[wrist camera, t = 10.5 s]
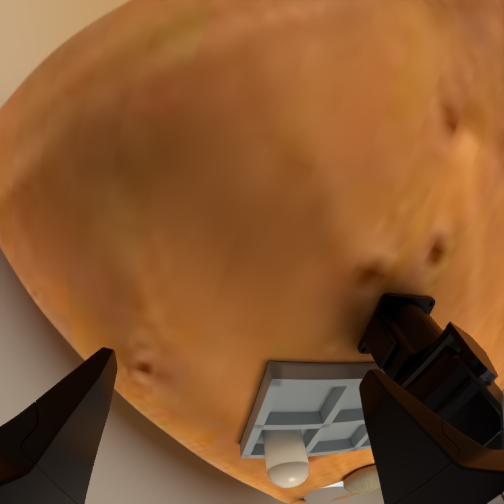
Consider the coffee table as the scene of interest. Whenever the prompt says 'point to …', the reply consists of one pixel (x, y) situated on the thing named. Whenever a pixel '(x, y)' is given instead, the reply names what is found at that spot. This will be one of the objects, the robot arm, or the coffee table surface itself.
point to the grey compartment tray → (310, 407)
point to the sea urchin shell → (362, 480)
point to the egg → (285, 457)
